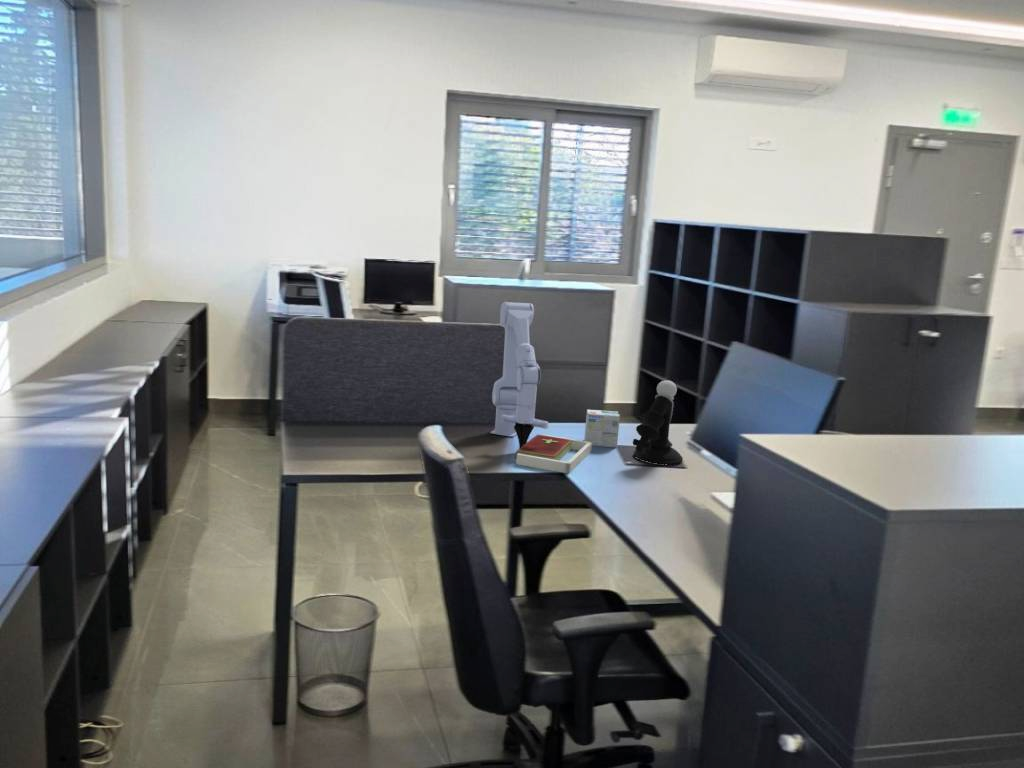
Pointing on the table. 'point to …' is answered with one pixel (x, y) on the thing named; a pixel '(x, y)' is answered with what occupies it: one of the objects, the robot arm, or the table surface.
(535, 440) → the hardcover book
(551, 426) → the table surface
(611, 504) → the table surface
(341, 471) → the table surface
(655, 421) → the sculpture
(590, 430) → the light bulb box
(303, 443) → the table surface
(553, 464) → the document bay
